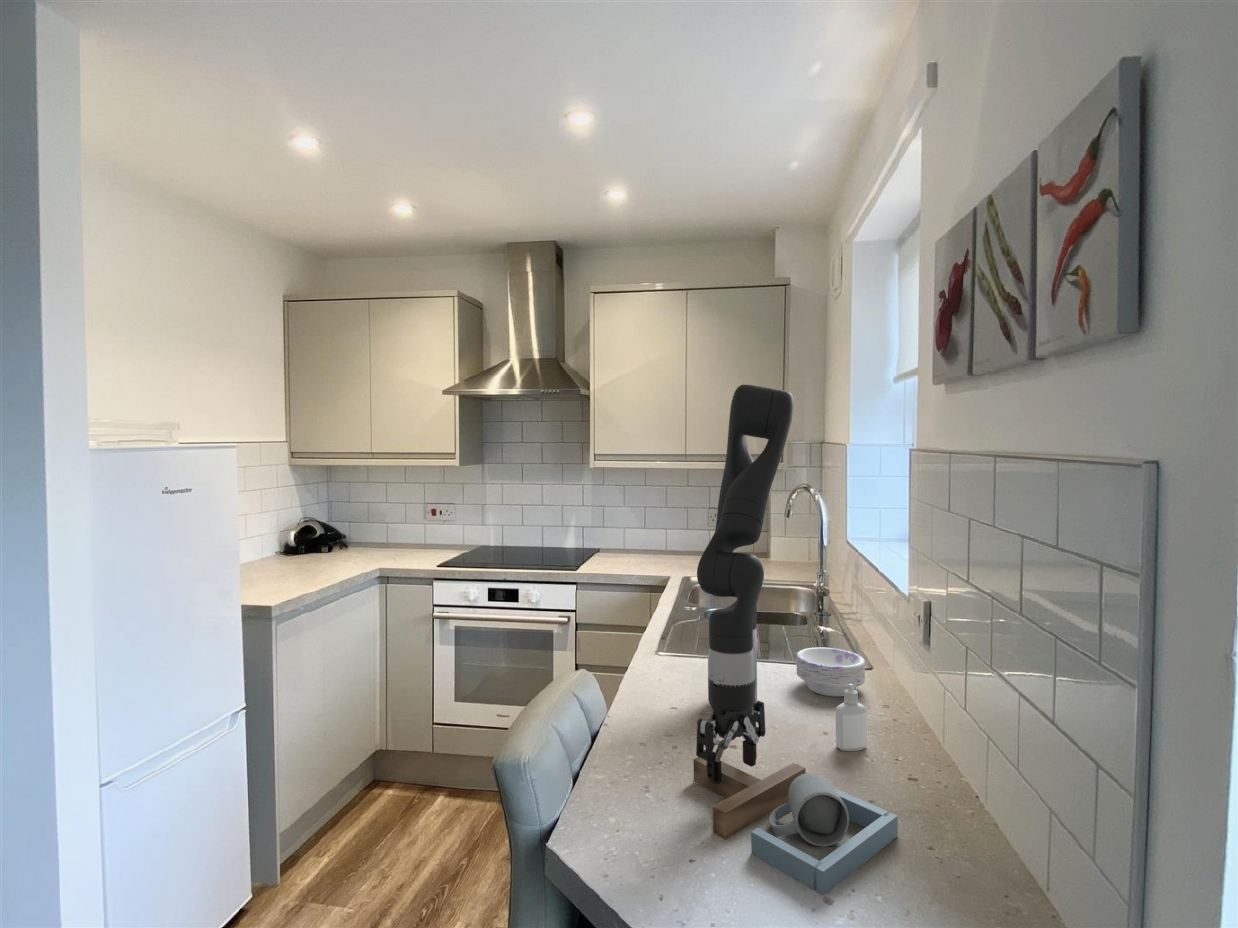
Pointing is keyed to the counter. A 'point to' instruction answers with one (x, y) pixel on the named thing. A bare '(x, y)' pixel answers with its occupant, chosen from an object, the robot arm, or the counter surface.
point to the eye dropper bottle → (851, 722)
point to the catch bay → (840, 861)
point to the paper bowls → (830, 670)
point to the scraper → (744, 795)
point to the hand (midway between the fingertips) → (732, 773)
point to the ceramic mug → (813, 811)
